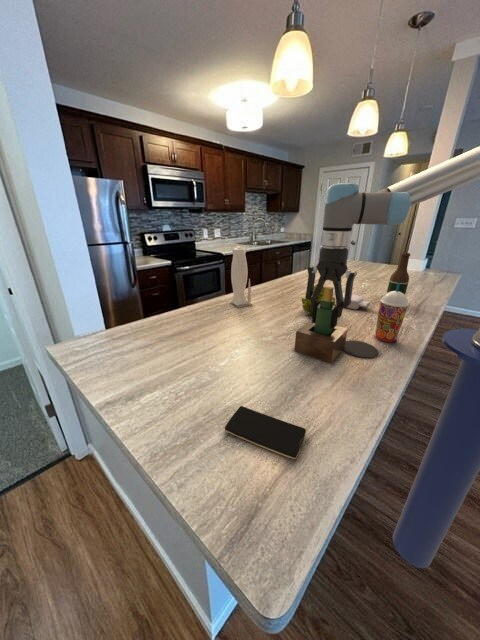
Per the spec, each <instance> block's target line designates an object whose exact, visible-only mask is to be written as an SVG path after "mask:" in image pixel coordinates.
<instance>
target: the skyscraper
mask: <svg viewBox="0 0 480 640" xmlns="http://www.w3.org/2000/svg"><path fill="white" fill-rule="evenodd" d="M233 246H235V247H234V248H233ZM230 247H231V250H232V251H231V252H232V261H231V268H230V269H231V270H230V279H231V287H232V292H233V295H232V299H231V304H232V305H234V307H237V308H238V309H239V308H243V307H250V306H252V305H253V304H252V287H251V278H248V277H249V276H248V274H249V273H248V271H249V270H248V262H247V257H246V253H247V249H248V248H247V246H244V245H243V246H242V245H241V244H239V243H231V244H230ZM247 282H248V287H247ZM246 287H247V300H246V296H245V292H246Z"/></svg>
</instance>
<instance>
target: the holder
mask: <svg viewBox="0 0 480 640" xmlns="http://www.w3.org/2000/svg"><path fill="white" fill-rule="evenodd" d="M314 327H315V323H312V319H310V320H309V321H308V322H306V323H305V324H304V325H302V326H301V327H299V328H298V329H297V330H295V337H294V339H295V340H294V341H295V342H294V347H293V351H294V352H297V353H300V354H303V355H306V356H309V357H311V358H314V359H317V360H320V361H323V362H326V363H329V364H332V363H333V362H334V360H336V358H338V356H339V355H340V354H341V353H342V351H343V348H344V347H345V342H346V341H347V336H348V332H349V328H347V327H343V326H340V325H337V326H336V327H334V328H333V330H332V334H331V335H330V336H326V335H322V334H319V333H315V332H314Z"/></svg>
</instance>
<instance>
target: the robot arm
mask: <svg viewBox="0 0 480 640" xmlns="http://www.w3.org/2000/svg"><path fill="white" fill-rule="evenodd" d="M477 180H480V145H479V146H477V147H475V148H473V149H471V150H468V151H466V152H464V153H462V154H459V155H457V156H455V157H452V158H450V159H447V160H445V161H444V162H442V163H439V164H436V165H435V166H432V167H430V168H427V169H426V170H423V171H421V172H419V173H417V174H414V175H412V176H410V177H408V178H405V179H404V180H401V181H399V182H396V183H395V184H392V185H390V186H388V187H386V188H383V189H381V190H379V191H375V192H362V191H360V190H359V187H360V186H359V185H358V183H354V182H352V183H351V182H350V183H349V182H346V183H345V182H344V183H343V182H342V183H333V184H331V185H330V186H329V187H328V188H327V191H326V196H325V203H324V212H323V221H322V230H321V238H320V245H321V247H320V248H319V255H318V263H317V264H316V265H311V266H309V267H307V275H308V276H307V282H306V291H305V296H306V299H309V300H310V301H311V309H310V310H311V312H313V315H312V317H311V320H312V323H315V319H316V311H317V305H319V304H320V301H317V300H318V297H319V295H320V293H321V290H322V288H323V287H325V284H326V282H327V281H329V282H332V285H333V288H334V289H333V290H334V295H335V302H336V303H337V305H336V306H335V307H334V311H333V317H332V324H331V328H334V327H336V326H338V319H340V318H341V317H342V315H343V308H346V307H348V306H349V305H350V303H351V296H352V294H353V288H354V282H355V281H354V280H355V278H356V277H357V274H358V273H357V271H355V270H354V271H353V270H350V269H348V265H347V262H348V257H349V251H350V249H349V248H348V247H349V246H350V244H351V238H352V231H353V226H354V225H381V226H383V225H387V226H392V225H402V223H403V224H404V222H405V220H406V219H407V217H408V215H409V212H410V209H411V207H413V206H415V205H418V204H420V203H423V202H426V201H428V200H431V199H433V198H435V197H438V196H440V195H443V194H445V193H448V192H450V191H452V190H455V189H458V188H460V187H462V186H465V185H468V184H470V183H472V182H475V181H477ZM316 273H318V274H319V275H320V276H319V278H318V281H317V283H316V284H317V286H316V289H315V291H314V294H313V289H314V286H315V281H316ZM344 275H345V278H346V281H345V290H344V292H343V286H342V277H343V276H344ZM343 293H345V297H344V301H343ZM336 303H335V304H336ZM477 330H478V331H477V332H476V333H475V334H474V335H473V337H472V339H471V343H472V344H473V345H474V346H475V347H476V348H478V349H480V328H478V329H477Z"/></svg>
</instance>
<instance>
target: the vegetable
mask: <svg viewBox="0 0 480 640" xmlns="http://www.w3.org/2000/svg"><path fill="white" fill-rule="evenodd" d="M317 284H318V283H316V284H314V289H313V294H314V291H315V289H316V286H317ZM324 287H325V286H323V288H322V290H321V293H320V295H319V297H318V300H317V301H320V304H321V299H323V294H324ZM332 300H333V301H334V302H333V306H337V305H336V297H333V296H332ZM301 304H302V308H303V310H304V312H306V313H308V316H309V317H310V316H313V312H311V310H310V309H311V301H310V300H309V299H306V295H305V297H301Z"/></svg>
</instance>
